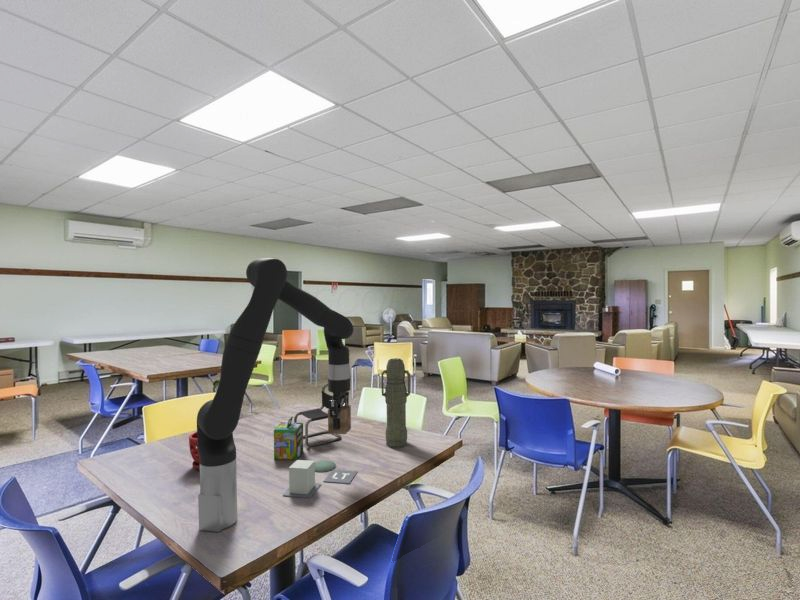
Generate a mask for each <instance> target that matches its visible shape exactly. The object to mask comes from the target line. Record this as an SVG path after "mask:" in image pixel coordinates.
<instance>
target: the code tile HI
mask: <svg viewBox="0 0 800 600" xmlns="http://www.w3.org/2000/svg"><path fill="white" fill-rule="evenodd" d="M321 486H322V483H316V482H315V486H314V487H313V489H312V490H311V491H310V492H309V493H308V494H297V493H289V488H288V489H287V490H286V491H285V492H284V493H283V494H282V496H283V497H288V498H289V497H291V498H300V499H301V498H304V499H311V498H312V497H313V496H314V494H315V493H316V492H317V491H318V490H319V488H320V487H321Z"/></svg>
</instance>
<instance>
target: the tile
mask: <svg viewBox="0 0 800 600" xmlns="http://www.w3.org/2000/svg"><path fill="white" fill-rule="evenodd" d="M357 474H358V471H355V470H341V469H332V470H330V471H329V474H328V475H327V476H326V477H325V478H324V480H323V481H322V482H323V483H330V484H331V483H333V484H343V485H344V484H345V485H349V484H351V482H352V481H353V479H354V478H355V476H356V475H357Z"/></svg>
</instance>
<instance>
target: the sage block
mask: <svg viewBox="0 0 800 600" xmlns="http://www.w3.org/2000/svg"><path fill="white" fill-rule="evenodd" d="M315 462H316V461H315V460H308V459H307V460H305V459H297V460H295V461H294V462H293V463H292V464H291V465H290V466H289V467H288V483H289V484H288V485H289V488H288V489H289V493H297V494H308V493H309V492H310V491H311V490H312V489H313V487H314V486H315V483H316V472H315Z"/></svg>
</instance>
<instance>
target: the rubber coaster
mask: <svg viewBox="0 0 800 600" xmlns="http://www.w3.org/2000/svg"><path fill="white" fill-rule="evenodd" d="M336 464H337V463H335V462H334V461H333V460H319V461H315V473H326V472H331V471H332V470H335V468H336V466H337V465H336Z"/></svg>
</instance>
